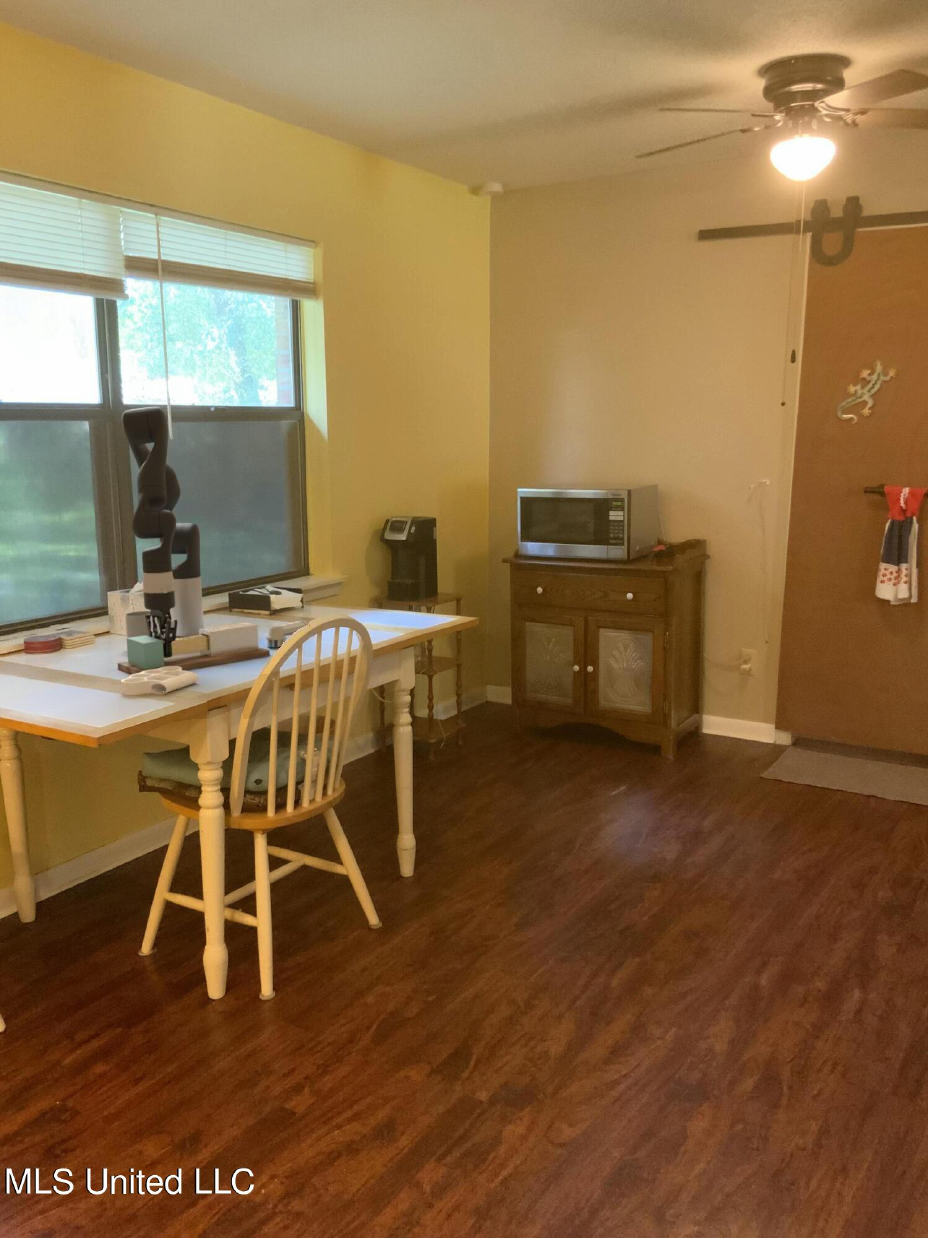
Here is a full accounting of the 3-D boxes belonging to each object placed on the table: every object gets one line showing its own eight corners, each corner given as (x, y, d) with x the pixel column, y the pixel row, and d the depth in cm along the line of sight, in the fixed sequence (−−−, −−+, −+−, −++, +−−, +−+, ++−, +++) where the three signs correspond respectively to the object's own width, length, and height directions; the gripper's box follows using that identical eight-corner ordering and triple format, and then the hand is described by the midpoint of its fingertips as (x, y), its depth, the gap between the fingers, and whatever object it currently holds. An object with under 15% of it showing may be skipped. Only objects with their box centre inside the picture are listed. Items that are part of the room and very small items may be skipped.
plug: (139, 657, 260) (138, 643, 260) (218, 645, 275) (217, 631, 274) (146, 660, 258) (145, 645, 257) (225, 647, 272) (224, 633, 271)
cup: (154, 651, 283) (151, 615, 282) (124, 652, 283) (121, 616, 282) (162, 645, 292) (160, 610, 290) (133, 646, 292) (131, 611, 290)
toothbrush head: (311, 619, 308) (281, 623, 283) (311, 642, 308) (281, 647, 284) (295, 619, 309) (263, 622, 284) (295, 641, 309) (263, 646, 285)
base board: (117, 668, 262) (117, 663, 262) (243, 648, 286) (243, 642, 285) (141, 677, 252) (141, 671, 252) (269, 655, 275) (269, 650, 275)
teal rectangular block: (128, 663, 262) (126, 638, 261) (147, 660, 265) (145, 635, 264) (145, 669, 254) (143, 643, 253) (164, 666, 258) (162, 640, 257)
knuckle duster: (157, 700, 232) (107, 694, 238) (207, 682, 248) (158, 677, 254) (156, 685, 231) (105, 680, 237) (206, 668, 248) (157, 664, 253)
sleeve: (200, 653, 273) (198, 629, 272) (247, 645, 282) (246, 622, 281) (211, 656, 268) (209, 631, 267) (258, 648, 277) (257, 624, 276)
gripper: (132, 588, 262) (137, 654, 265) (157, 594, 252) (162, 662, 255) (160, 585, 267) (164, 650, 270) (185, 590, 257) (190, 658, 260)
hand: (163, 655), depth 263 cm, fingers closed on plug, 3 cm apart
